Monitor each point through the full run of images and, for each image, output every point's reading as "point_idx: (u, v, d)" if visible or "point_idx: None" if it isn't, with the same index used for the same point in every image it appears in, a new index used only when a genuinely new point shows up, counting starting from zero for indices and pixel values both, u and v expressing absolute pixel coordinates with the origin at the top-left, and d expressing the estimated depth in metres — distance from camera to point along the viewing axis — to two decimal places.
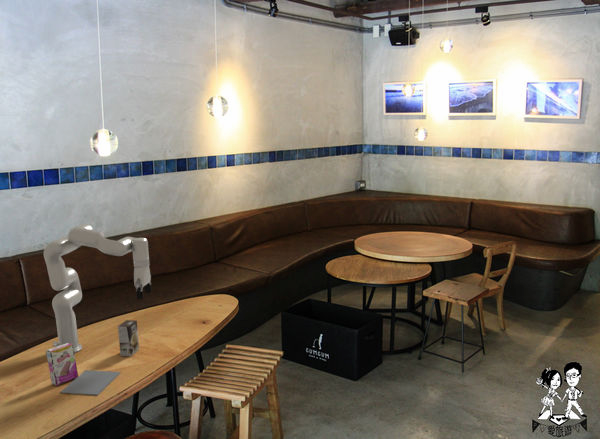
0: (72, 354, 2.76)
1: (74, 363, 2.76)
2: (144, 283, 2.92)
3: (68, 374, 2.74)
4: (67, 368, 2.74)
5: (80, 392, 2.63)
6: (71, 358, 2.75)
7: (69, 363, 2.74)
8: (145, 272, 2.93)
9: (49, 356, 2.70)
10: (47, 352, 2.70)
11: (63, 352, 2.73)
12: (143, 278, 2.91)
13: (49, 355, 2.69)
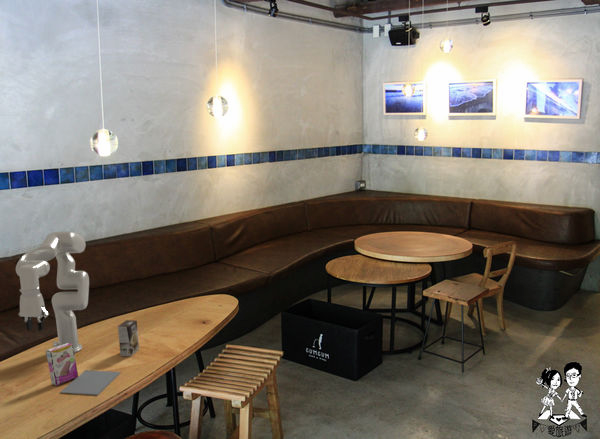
0: (72, 354, 2.76)
1: (74, 363, 2.76)
2: None
3: (68, 374, 2.74)
4: (67, 368, 2.74)
5: (80, 392, 2.63)
6: (71, 358, 2.75)
7: (69, 363, 2.74)
8: None
9: (48, 356, 2.70)
10: (47, 352, 2.70)
11: (63, 352, 2.73)
12: None
13: (49, 355, 2.69)
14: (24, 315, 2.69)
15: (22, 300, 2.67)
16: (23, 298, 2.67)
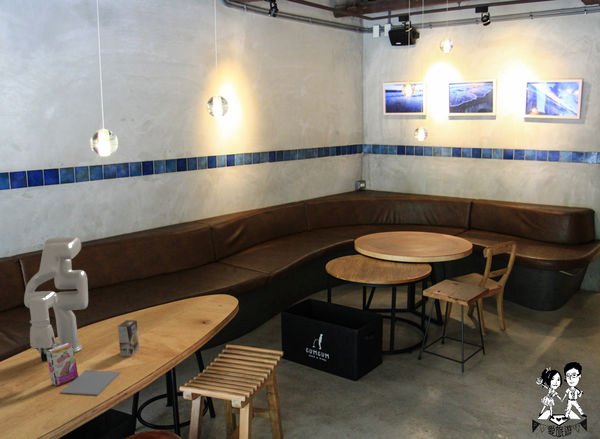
0: (72, 354, 2.76)
1: (74, 363, 2.76)
2: None
3: (68, 374, 2.74)
4: (67, 369, 2.73)
5: (80, 392, 2.63)
6: (71, 358, 2.75)
7: (69, 363, 2.74)
8: None
9: (49, 356, 2.69)
10: (47, 352, 2.70)
11: (63, 352, 2.72)
12: None
13: (49, 355, 2.69)
14: (34, 346, 2.71)
15: (32, 331, 2.70)
16: (33, 330, 2.69)
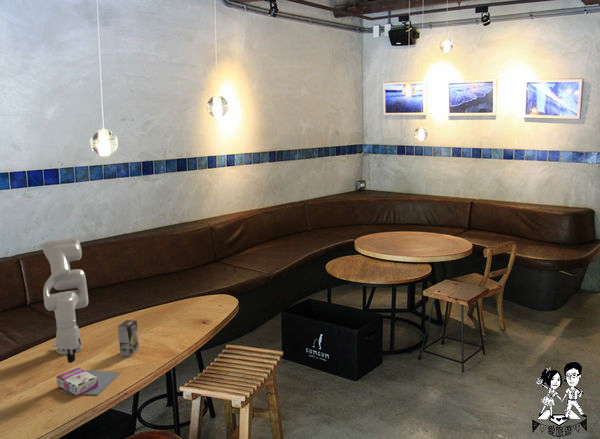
0: None
1: None
2: None
3: None
4: None
5: None
6: None
7: None
8: None
9: (72, 389, 2.61)
10: (74, 388, 2.60)
11: None
12: None
13: (73, 391, 2.61)
14: (61, 347, 2.69)
15: (59, 332, 2.67)
16: (60, 330, 2.67)
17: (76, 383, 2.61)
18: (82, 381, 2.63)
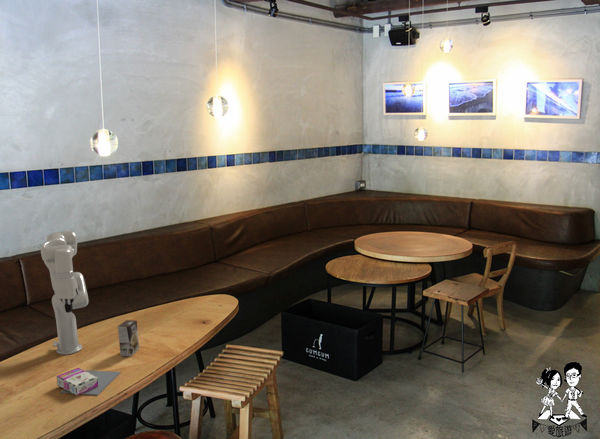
0: None
1: None
2: None
3: None
4: None
5: None
6: None
7: None
8: None
9: (72, 389, 2.61)
10: (74, 388, 2.60)
11: None
12: None
13: (73, 391, 2.61)
14: (58, 297, 2.80)
15: (57, 283, 2.79)
16: (58, 281, 2.78)
17: (77, 383, 2.61)
18: (82, 381, 2.63)
